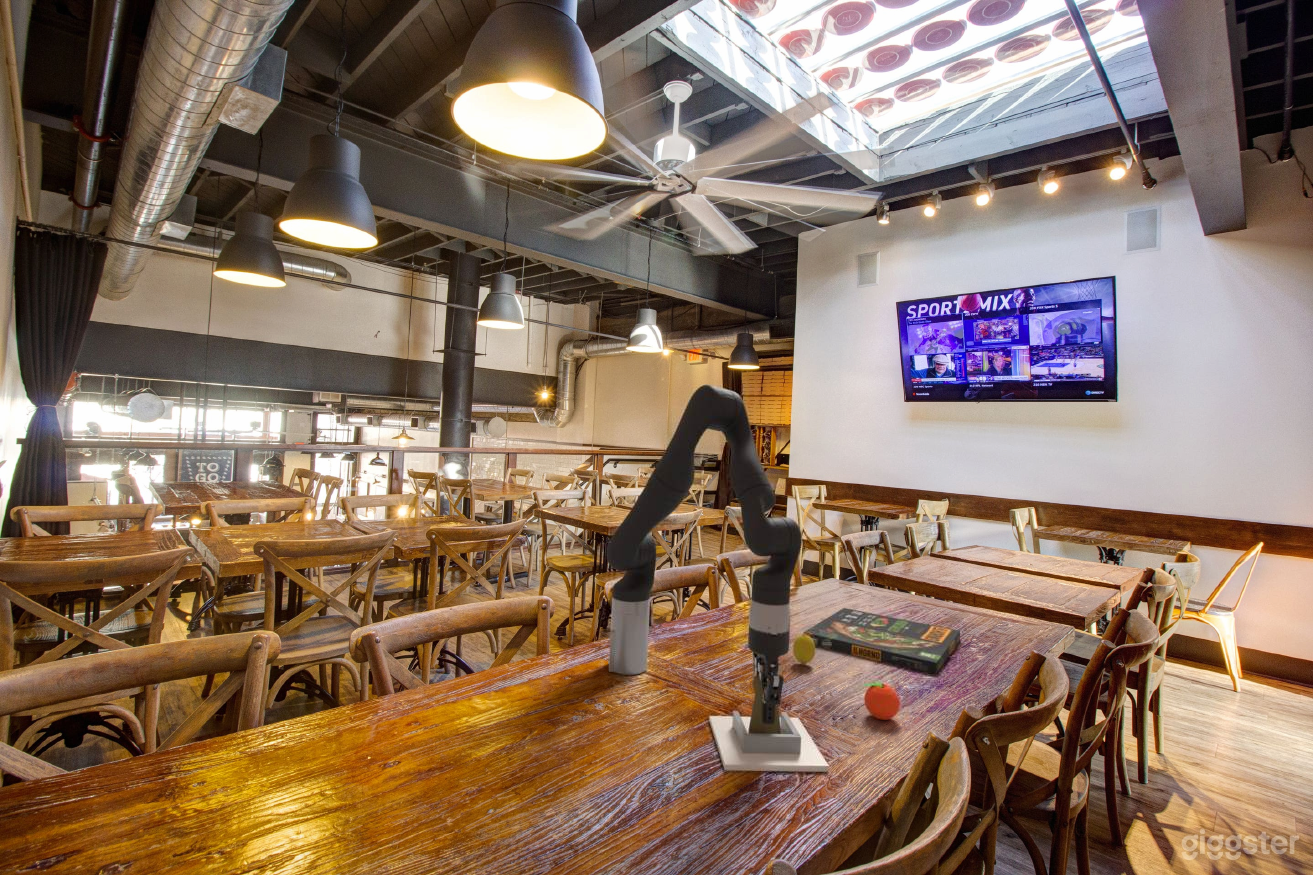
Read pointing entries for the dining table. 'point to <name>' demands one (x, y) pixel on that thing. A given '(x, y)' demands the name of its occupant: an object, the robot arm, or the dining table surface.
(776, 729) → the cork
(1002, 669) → the dining table surface
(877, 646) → the pizza box
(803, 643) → the lemon
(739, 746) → the U-rest
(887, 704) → the clementine
